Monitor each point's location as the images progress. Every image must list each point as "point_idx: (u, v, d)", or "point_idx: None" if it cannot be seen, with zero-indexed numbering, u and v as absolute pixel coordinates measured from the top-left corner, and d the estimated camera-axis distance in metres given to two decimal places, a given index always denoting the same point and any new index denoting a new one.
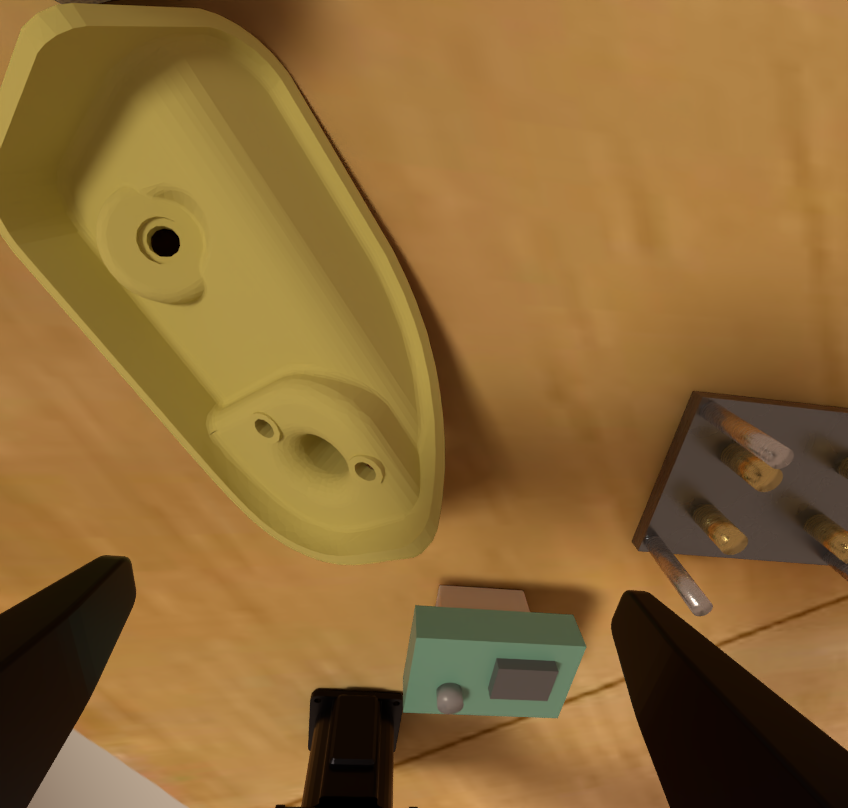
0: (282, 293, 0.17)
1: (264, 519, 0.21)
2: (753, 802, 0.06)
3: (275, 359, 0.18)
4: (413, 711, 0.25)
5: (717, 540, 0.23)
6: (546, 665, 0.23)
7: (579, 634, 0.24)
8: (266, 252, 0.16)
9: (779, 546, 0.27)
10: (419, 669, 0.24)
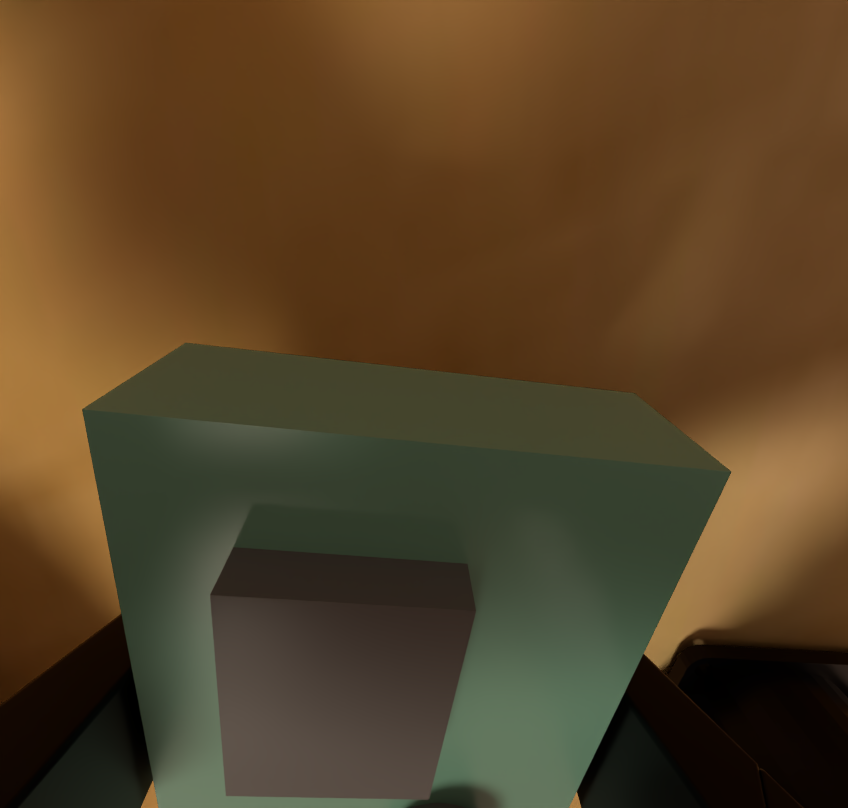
0: None
1: None
2: (645, 800, 0.05)
3: None
4: None
5: None
6: None
7: None
8: None
9: None
10: None
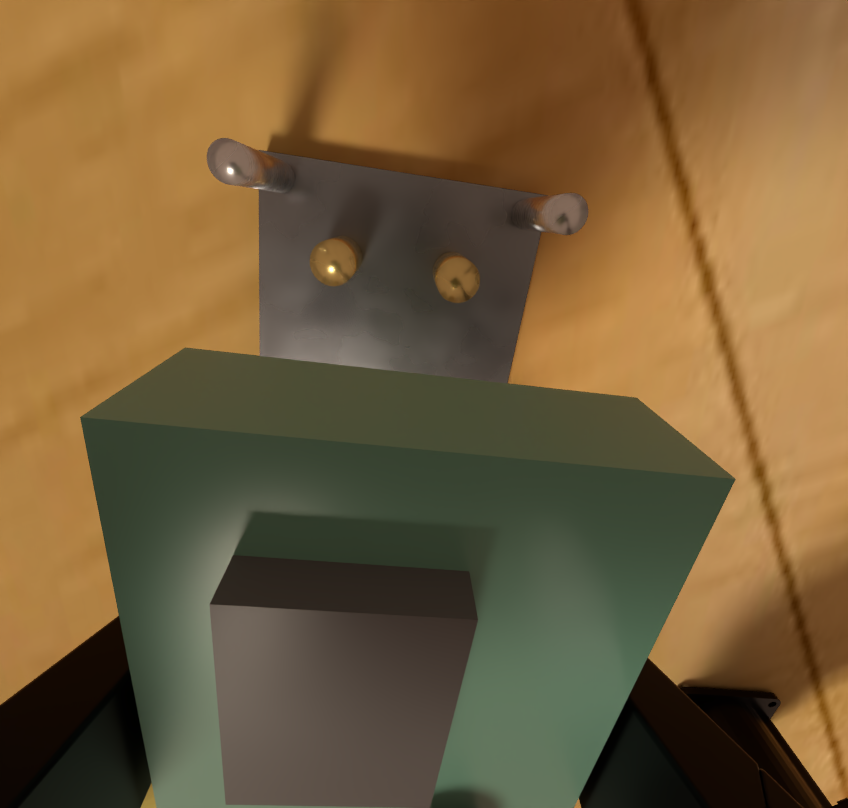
0: None
1: None
2: (646, 800, 0.05)
3: None
4: None
5: None
6: None
7: None
8: None
9: (493, 315, 0.17)
10: None
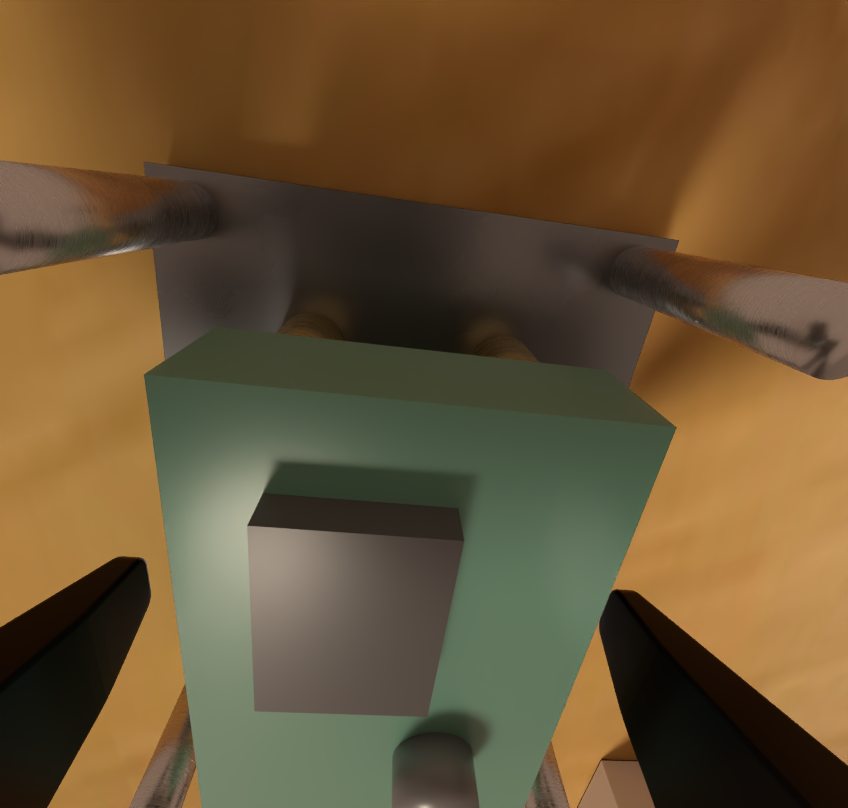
0: None
1: None
2: (734, 801, 0.06)
3: None
4: None
5: None
6: None
7: None
8: None
9: None
10: None
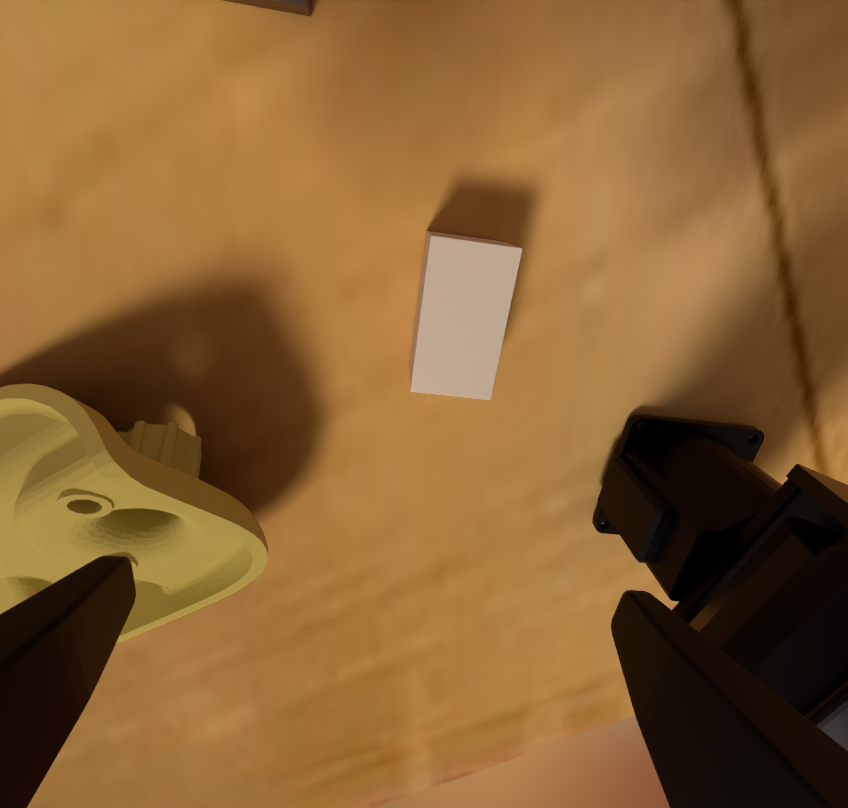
0: None
1: (238, 577, 0.19)
2: (753, 802, 0.06)
3: None
4: None
5: None
6: None
7: None
8: None
9: None
10: None
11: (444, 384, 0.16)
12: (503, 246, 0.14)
